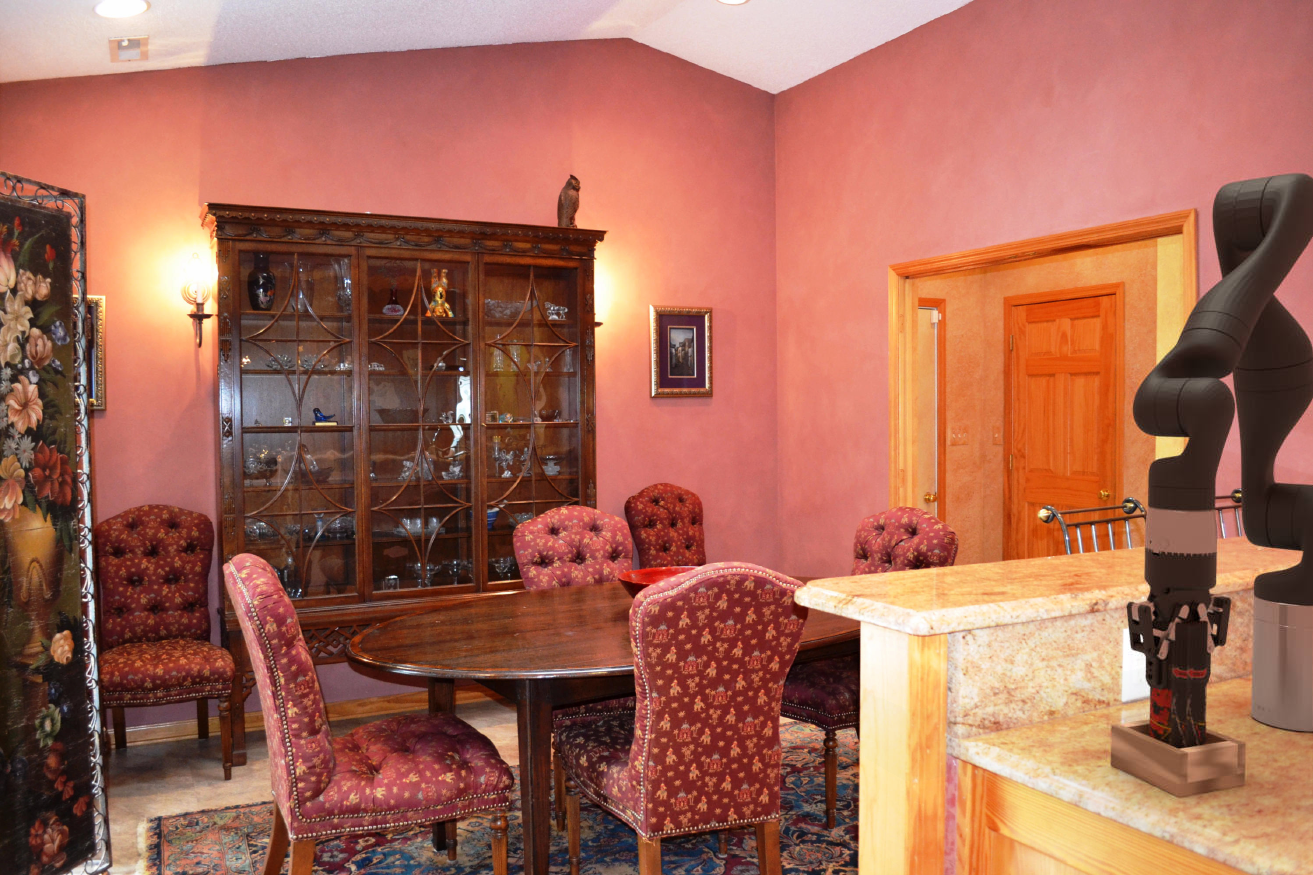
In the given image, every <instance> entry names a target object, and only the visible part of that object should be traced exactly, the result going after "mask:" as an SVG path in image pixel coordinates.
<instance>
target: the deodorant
mask: <svg viewBox="0 0 1313 875" xmlns="http://www.w3.org/2000/svg"><path fill="white" fill-rule="evenodd" d="M1169 625H1170V623H1164V622H1160V621H1156V620H1155V619H1153V627H1154V629H1156V630H1160V631H1163V632H1165V631H1167V630H1168V628H1169ZM1174 632H1176V640H1175V641H1174V642H1170V647H1169V650H1168V653H1167V655H1166V657H1165V659H1167V688H1166V689H1164V690H1158V689H1155V688H1152V687H1150V686H1149V719H1150V724H1149V737H1152V738H1154V739H1156V740H1159V741H1161V742H1164V743H1166V744H1168V745H1171V746H1173V747H1176V748H1178V749H1182V748H1188V747H1194V746H1200V745H1206V728H1207V694H1208V693H1207V686H1208V683H1207V643H1208V622H1207V621H1204V622H1199V621H1189V622H1183V623H1182V624H1177V625H1176V630H1175V631H1174ZM1160 639H1161V638H1160V637H1156V638H1155V646H1156V647H1158V645H1159V642H1160Z"/></svg>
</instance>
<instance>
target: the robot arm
mask: <svg viewBox="0 0 1313 875" xmlns="http://www.w3.org/2000/svg"><path fill="white" fill-rule="evenodd" d="M1212 231H1213V236H1214V238H1213V239H1214V244H1215V248H1216V249H1215V250H1216V254H1217V259H1218V265H1219V268H1220V275H1221V278H1222V279H1221V280H1219V281H1218V282H1217V283H1216V284H1215V285H1213V286H1212V287H1211V288H1210V289H1209V290H1207V291H1206V292H1205V294H1204V295H1202V297H1201V298H1200V299H1199V300H1198V301H1197V303H1196V304H1195V305H1194V307H1193V308H1192V310H1191V311H1190V314H1189V315H1188V318H1187V319H1186V322H1185V325H1184V327H1183V328H1182V331H1181V333H1180V335H1179V337H1178V339H1177V341H1176V344H1175V345H1174V346H1173V348H1171V350H1170V351H1169V352H1167V353H1166V354H1165V356H1164V357H1163V358H1162V359H1161V360H1160V361H1159V362H1158V363H1157V364H1156V365H1155V367H1154V368H1153V369H1152V370H1151V371H1150V372H1149V373H1148V374H1147V376H1146V377H1145V378H1144V379H1143V381H1142V382H1141V384H1140V385H1139V387H1138V388H1137V390H1136V392H1135V395H1134V397H1133V402H1132V416H1133V421H1134V422H1135V425H1136V426H1137V428H1139V430H1140V431H1141V432H1142V433H1144V434H1146V435H1148V436H1153V437H1159V438H1161V437H1162V438H1163V437H1164V438H1165V437H1166V438H1188V441H1187V443H1186V444H1185V447H1184V448H1183V451H1182V453H1180V454H1179V455H1175V456H1167V457H1166V456H1165V457H1161V458H1158V459H1155V460H1153V461H1152V462H1151V463H1150V464H1149V468H1148V474H1147V475H1148V478H1147V481H1148V482H1147V483H1148V484H1147V485H1148V486H1147V512H1146V518H1145V525H1144V528H1145V529H1144V575H1143V576H1144V581H1145V582H1146V583H1147V584H1148V586H1149V593H1148V596H1147V598H1146V600H1144V601H1141V602H1135V601H1129V602H1128V603H1127V604H1126V614H1127V623H1128V625H1127V626H1128V634H1129V636H1128V637H1129V643H1130V649H1131V650H1132V651H1135V652H1138V653H1140V654H1143V655H1144V656H1145V681H1146V683H1147V685H1148V687H1149V688H1150V687H1152V688H1155V689H1158V690H1164V689H1166V688H1167V659H1165V657H1166V655H1167V653H1168V650H1169V647H1170V642H1174V641H1175V640H1176V632H1174V631H1175V630H1176V625H1177V624H1182V623H1183V622H1189V621H1199V622H1204V621H1207V622H1208V643H1207V684H1208V683H1209V681H1210V677H1211V674H1212V673H1211V669H1212V653H1214V651H1215V648H1218V647H1224V646H1225V645H1226V643H1227V637H1228V628H1229V622H1230V616H1231V614H1230V612H1231V609H1232V608H1231V605H1232V600H1231V598H1230V597H1228V596H1223V595H1218V594H1214V593H1211V592H1210V590H1211V589H1214V588H1215V587H1216V585H1217V566H1218V565H1217V564H1218V563H1217V559H1218V557H1217V556H1218V524H1217V517H1216V493H1217V492H1216V491H1217V490H1216V486H1217V485H1216V483H1217V481H1216V480H1217V474H1218V470H1219V466H1220V462H1221V458H1222V455H1223V451H1224V448H1225V446H1226V442H1227V439H1228V437H1229V433H1230V432H1231V428H1232V425H1233V423H1234V418H1235V413H1236V412H1237V421H1238V430H1239V441H1240V442H1239V443H1240V469H1241V470H1240V486H1241V488H1240V492H1241V493H1240V494H1241V495H1240V496H1241V498H1240V501H1241V504H1240V506H1241V507H1240V508H1241V520H1242V521H1241V522H1242V528H1243V532H1244V534H1245V536H1246V539H1247V540H1248V542H1250V543H1251V544H1253V545H1254V546H1257V547H1261V548H1270V549H1276V550H1278V549H1279V550H1287V551H1297V552H1302V556H1301V560H1300V562H1299V563H1297V564H1295V565H1293V566H1291V567H1288V568H1285V569H1279V570H1273V571H1269V572H1268V571H1267V572H1263V573H1261V574H1258V575H1257V576H1255V577H1254V580H1253V604H1252V606H1253V607H1252V608H1253V611H1252V612H1253V615H1252V620H1253V621H1252V655H1251V656H1252V658H1251V660H1252V661H1251V662H1252V663H1251V665H1252V666H1251V667H1252V668H1251V702H1250V703H1251V704H1250V715H1251V717H1252V718H1253V719H1254V720H1256V721H1258V722H1260V723H1263V724H1265V725H1269V726H1272V727H1275V728H1279V729H1284V730H1290V731H1298V732H1299V731H1300V732H1313V484H1305V483H1304V484H1303V483H1285V482H1276V480H1275V477H1274V473H1275V472H1274V469H1275V467H1274V466H1275V463H1276V462H1275V461H1276V458H1277V456H1278V453H1279V452H1280V449H1281V447H1282V446H1283V445H1284V442H1285V441H1286V440H1287V437H1288V436H1289V435H1290V433H1291V432H1292V431H1293V429H1294V427H1296V425H1297V424H1298V422H1299V421H1300V420H1301V419H1302V417H1303V415H1304V414H1305V413H1306V411H1307V410H1308V408H1309V406H1310V405H1311V403H1312V400H1313V345H1312V342H1311V339H1310V338H1309V335H1308V334H1307V333H1306V331H1305V330H1304V328H1303V326H1302V325H1301V324H1300V323H1299V321H1297V319H1296V318H1295V317H1294V316H1293V315H1292V313H1290V311H1289V310H1288V309H1287V308H1286V307H1285V306H1284V305H1283V304H1282V303H1281V301H1280V300H1279V299H1278V297H1277V296H1276V295H1275V293H1276V292H1277V290H1278V289H1279V287H1280V286H1281V284H1282V283H1283V282H1284V280H1285V279H1286V277H1287V276H1288V274H1289V273H1290V272H1291V271H1292V269H1293V267H1294V266H1295V264H1296V263H1297V262H1298V260H1299V258H1300V257H1301V256H1302V254H1303V252H1305V250H1306V249H1307V247H1308V245H1309V244H1310V242H1311V240H1312V239H1313V176H1310V175H1309V174H1307V173H1299V172H1296V173H1293V172H1292V173H1284V174H1283V173H1282V174H1277V175H1272V176H1265V177H1258V178H1251V179H1250V178H1249V179H1245V180H1239V181H1232V182H1229V183H1226V184H1224V185H1223V186H1221V187H1220V188H1219V190H1218V191H1217V192H1216V195H1215V197H1214V201H1213V205H1212ZM1231 374H1232V382H1233V389H1234V390H1233V391H1234V394H1233V392H1232V390H1231V389H1230V387H1229V386H1228V384H1227V383H1225V382H1224V381H1223V380H1221V379H1224V378H1226V377H1228V376H1230V375H1231ZM1153 619H1155V620H1156V621H1160V622H1164V623H1170V625H1169V628H1168V630H1167V631H1165V632H1163V631H1160V630H1156V629H1154V627H1153ZM1214 625H1216V632H1215V633H1214ZM1156 637H1160V638H1161V639H1160V642H1159V645H1158V647H1156V646H1155V638H1156Z"/></svg>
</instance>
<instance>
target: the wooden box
mask: <svg viewBox="0 0 1313 875" xmlns="http://www.w3.org/2000/svg"><path fill="white" fill-rule="evenodd" d="M1149 724H1150V718H1149V719H1143V720H1135V721H1131V722H1124V723H1123V722H1122V723H1118V724H1117V723H1116V724H1111V725H1110V728H1111V729H1110V734H1111V735H1110V766H1112V767H1114V768H1116V769H1119V770H1121V771H1123V772H1125V773H1127V774H1129V775H1131V776H1133V777H1135V778H1137V779H1140V780H1142V781H1144V782H1146V783H1148V784H1150V785H1153V786H1154V787H1156V788H1158V789H1160V790H1163V791H1165V792H1167V793H1169V794H1171V795H1173V796H1175V797H1178V798H1181V797H1188V796H1194V795H1198V794H1205V793H1209V792H1210V793H1211V792H1215V791H1221V790H1227V789H1230V788H1231V789H1232V788H1237V787H1242V786H1245V785H1246V780H1245V779H1246V748H1247V747H1246V742H1244V741H1241V740H1238V739H1237V738H1234V737H1231V736H1229V735H1225V734H1222V733H1221V732H1218V731H1215V730H1212V729H1210V728H1207V727H1206V745H1200V746H1194V747H1188V748H1182V749H1178V748H1176V747H1173V746H1171V745H1168V744H1166V743H1164V742H1161V741H1159V740H1156V739H1154V738H1152V737H1149Z"/></svg>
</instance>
